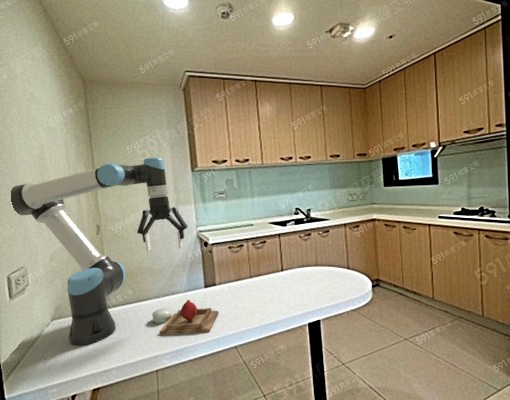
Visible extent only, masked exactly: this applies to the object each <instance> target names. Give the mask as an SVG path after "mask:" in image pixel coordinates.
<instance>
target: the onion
mask: <svg viewBox="0 0 510 400" xmlns="http://www.w3.org/2000/svg"><path fill="white" fill-rule="evenodd" d="M197 309H198V307H197V306H196V304H195V303H194V302H192V301H191V299H187V300H186V302H185V303H183V305H182V307H181V308H180V310H181V315H182V317H183V318H184V319H186V320H189V321H192V319H193V318H194V317H195V316H196V314H197Z"/></svg>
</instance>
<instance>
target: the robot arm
mask: <svg viewBox="0 0 510 400" xmlns="http://www.w3.org/2000/svg"><path fill="white" fill-rule="evenodd" d="M139 184H140V185H141V184H146V190H147V196H148V197H149V198H148V205H149V210H148V209H143V210H142V211H141V212H142V215H141V216H142V217H141V219H140V222H139V225H138V229H137V234H140V235H141V236H142V241H143V243H145V248H146V249H145V250H146V251H147V252H149V251H150V250H151V251H152V245H151V237H150V233H148V232H149V231H150V229H151V227H152V226H153V224H154V223H155V221H159V220H163V221H164V220H166V221H168V222H170V224H171V225H172V226H173V227H175V229H176V230H177V233H176V235H177V241H178V242H177V243H178V249H181V248H183V246H184V244H183V239H184V238H185V234H184V233H185V231H184V230H186V229H188V227H189V226H188V224H186V222H185V221H184V218H183V217H182V215H181V214H180V212H179V210H178V206H173V207H170V202H169V197H168V196H167V195H168V186H167V178H166V169H165V163H164V160H163V158H162V157H148V158H144V159H143V163H141V164H135V165H126V164H117V163H105V164H102V166H100V167H97V168H93V169H89V170H86V171H80V172H78V173H74V174H71V175H65V176H63V177H58V178H55V179H51V180H46V181H44V182H39V183H36V184H35V183H32V182H27V183H24V184H19V185H14V187H13V186H12V187H13V188H12V190H11V202H12V205H13V208H14V210H15V211H16V212H17V213H18V214H20V215H19V216H30V215H31V216H32V218H34V219H35V221H36V222H38V223H43V224H44V225H46V227H47V228H48V229H49V231H50V232H51V233H52V234H53V235H54V237H55V238H56V239H57V240H58V242H59V243H60V244H61V245H62V246H63V247H64V248H65V250H66V251H67V252H68V253H69V255H70V256H71V257H72V258H73V260H74V261H75V262H76V263H77V264H78V265H79V266H80V268H81V271H76V272H75V273H73V274H72V275H70V276H69V277H68V279H67V281H66V282H67V283H66V284H67V289H66V290H67V294H68V300H69V307H70V312H71V324H70V330H69V335H68V339H69V343H70V344H71V345H74V346H84V345H89V344H90V345H91V344H93V343H95V342H98V341H101V340H103V339H105V338H107V337H109V336H110V335H112V334H114V332H115V331H116V329H117V327H116V321H115V320H114V319H113V317H112V314H111V312H110V311H109V308H108V302H107V297H108V296H110V295H111V294H112V293H113V292H116V291H117V290H118V289H119V288H120V287H121V286H122V285H123V284H124V282H125V280H126V276H127V275H126V273H127V272H126V269H125V267H124V266H123V264H122V263H120V262H118V261H114V260H112V259H111V258H110V256H108V255H103V254H102V253H101V252H100V251H99V250H98V248H97V247H96V246H95V245H94V244H93V242H91V240H90V239H89V238H88V236H87V235H86V234H85V233H84V232H83V230H82V229H81V228H80V226H78V224H76V222H75V221H74V219H72V217H71V216H70V215H69V214H68V213H67V211H66V207H67V205H66V204H65V200H64V199H69V198H72V197H76V196H80V195H83V194H88V193H92V192H96V191H100V190H102V189H108V188H112V187H115V186H120V187H121V186H130V185H131V186H132V185H139ZM170 213H172V214H173V215H172V214H170ZM149 215H151V216H150V218H149ZM173 216H174V217H175V218H176V219H175V218H174V217H173ZM148 218H149V221H148ZM147 221H148V222H147ZM146 223H147V224H146Z"/></svg>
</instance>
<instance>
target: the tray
mask: <svg viewBox="0 0 510 400" xmlns="http://www.w3.org/2000/svg"><path fill="white" fill-rule="evenodd" d="M171 315H172V317H171V318H170V319H169V320H168V321H167V322H165V323H164V325H163V326H162V328H161V329H160V330H159V335H171V334H172V335H174V334H175V335H176V333H178V334H192V333H191V332H195V333H209V332H211V330H212V328H213V326H214V324H215V322H216V320H217V317H218V316H219V310H212V307H208V308H207V307H206V308H203V307H202V308H197V314H196V316H195V317H194V318H193V319H192V321H189V320H186V319H184V318H183V317H182V315H181V309H179V310H177V312H176V313H173V314H171Z"/></svg>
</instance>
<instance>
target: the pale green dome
mask: <svg viewBox="0 0 510 400" xmlns="http://www.w3.org/2000/svg"><path fill="white" fill-rule="evenodd" d="M172 315H173V314H172V309H171V308H168V307H167V308H166V307H164V308H159V309H157V310H155V311H153V312H152V321H153V323H154V324H155V325H159V324H166V323H167V321H168V320H169V319H170V318H171V317H172Z"/></svg>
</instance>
